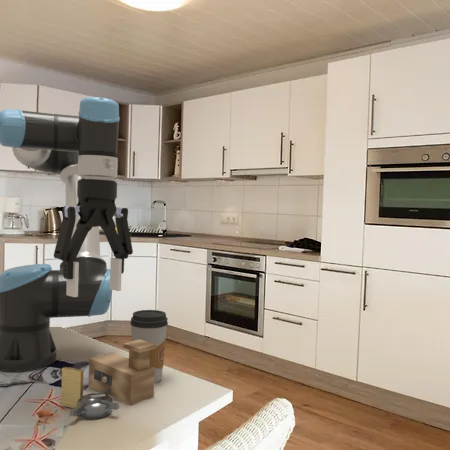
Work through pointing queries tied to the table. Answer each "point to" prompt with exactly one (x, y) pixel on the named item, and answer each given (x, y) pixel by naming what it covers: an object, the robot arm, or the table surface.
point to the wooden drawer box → (125, 373)
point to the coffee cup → (151, 335)
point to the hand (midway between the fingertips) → (94, 292)
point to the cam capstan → (84, 397)
